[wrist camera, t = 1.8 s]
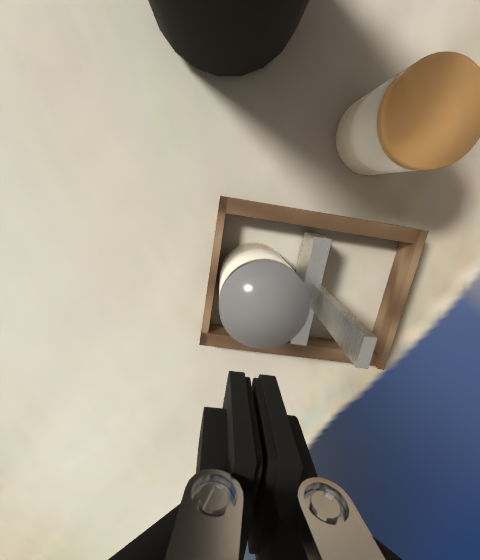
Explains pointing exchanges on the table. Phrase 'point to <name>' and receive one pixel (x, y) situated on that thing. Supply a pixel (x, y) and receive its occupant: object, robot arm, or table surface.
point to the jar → (414, 118)
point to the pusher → (330, 305)
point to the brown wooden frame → (407, 236)
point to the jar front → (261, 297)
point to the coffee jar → (228, 31)
